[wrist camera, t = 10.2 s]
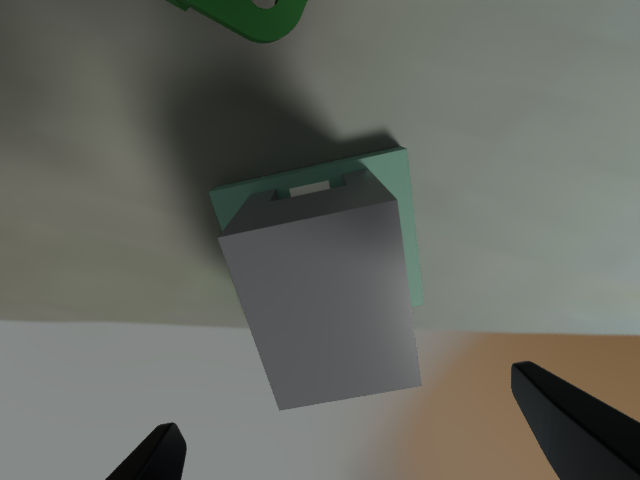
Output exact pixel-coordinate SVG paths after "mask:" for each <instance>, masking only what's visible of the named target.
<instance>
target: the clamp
mask: <svg viewBox="0 0 640 480" xmlns="http://www.w3.org/2000/svg"><path fill="white" fill-rule="evenodd" d="M166 1H168V2H170V3H171V4H173V5H175V6H177V7H179V8H180V9H182V10H184V11H186V10H187V9H188V7H191V8H193V9H194V10H196V11H198V12H200V13H201V14H203V15H205V16H207V17H209V18H210V19H212V20H214V21H216V22H217V23H219V24H221V25H223V26H224V27H226V28H228V29H230V30H232V31H233V32H235V33H237V34H239V35H240V36H242V37H244V38H246V39H248V40H250V41H252V42H256V43H270V42H274V41H276V40H278V39H280V38H282V37H283V36H285V35H286V34H288V33H289V32H290V31H291V30H292V29H293V28H294V27H295V26H296V24H297V23H298V21H299V19H300V17H301V15H302V13H303V10H304V8H305V5H306V2H307V0H276V2H275V5H274V6H273V7H271V8H269V9H262V8H259V7H257V6H256V5H255V4H253V3H252V1H251V0H166Z"/></svg>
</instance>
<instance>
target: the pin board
mask: <svg viewBox="0 0 640 480" xmlns="http://www.w3.org/2000/svg"><path fill="white" fill-rule="evenodd" d="M364 169H369V170H370V171H371V172H372V173H373V174H374V175H375V176H376V177H377V179H378V180H379V181H380V182H381V183H382V184H383V185H384V186H385V187H386V188H387V189H388V190H389V191H390V192H391V193H392V194H393V196H394V197H395V198H396V199H397V200H398V208H399V216H400V224H401V231H402V239H403V247H404V254H405V262H406V270H407V278H408V285H409V293H410V301H411V307H414V306H420V305H424V300H423V291H422V282H421V273H420V263H419V254H418V245H417V236H416V227H415V218H414V209H413V199H412V190H411V181H410V172H409V163H408V154H407V149H406V148H404V147H401V146H399V147H395V148H390V149H386V150H381V151H377V152H372V153H368V154H363V155H358V156H354V157H349V158H345V159H340V160H336V161H331V162H327V163H322V164H317V165H313V166H308V167H304V168H299V169H295V170H290V171H286V172H281V173H276V174H272V175H267V176H263V177H258V178H254V179H249V180H244V181H240V182H235V183H231V184H226V185H222V186H217V187H214V188H213V189H212V190H210V191H209V192H208V193H209V196H210V199H211V201H212V204H213V207H214V210H215V213H216V216H217V219H218V221H219V224H220V227H221V230H222V231H223V230H224V228H225V227H226V226H227V225H228V223H229V222H230V221H231V219H232V218H233V217H234V215H235V214H236V213H237V211H238V210H239V209H240V207H241V206H242V205H243V204H244V202H245V201H246V200H247V198H248V197H249V196H250V194H254V193H259V192H264V191H268V190H273V189H276V192H277V196H278V200H280V199H285V198H290V197H294V196H299V195H303V194H308V193H313V192H317V191H322V190H327V189H331V188H336V187H340V186H344V181H343V176H342V174H346V173H351V172H355V171H360V170H364Z"/></svg>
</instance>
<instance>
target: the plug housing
mask: <svg viewBox="0 0 640 480" xmlns="http://www.w3.org/2000/svg"><path fill="white" fill-rule="evenodd" d="M342 176H343V181H344V186H340V187H336V188H331V189H327V190H322V191H317V192H313V193H308V194H303V195H299V196H294V197H290V198H285V199H280V200H278V196H277V192H276V189H273V190H268V191H264V192H259V193H254V194H250V196H249V197H248V198H247V200H246V201H245V202H244V204H243V205H242V206H241V207H240V209H239V210H238V211H237V213H236V214H235V215H234V217H233V218H232V219H231V221H230V222H229V223H228V225H227V226H226V227H225V228H224V230H223V231H222V232H221V234H220V235H219V236H218V241H219V244H220V246H221V249H222V252H223V255H224V258H225V260H226V263H227V266H228V269H229V272H230V274H231V277H232V280H233V283H234V285H235V288H236V291H237V294H238V297H239V299H240V302H241V305H242V308H243V310H244V313H245V316H246V319H247V322H248V324H249V327H250V330H251V333H252V336H253V338H254V341H255V344H256V347H257V349H258V352H259V355H260V358H261V361H262V363H263V366H264V369H265V372H266V374H267V377H268V380H269V383H270V386H271V388H272V391H273V394H274V397H275V399H276V402H277V405H278V408H279V410H285V409H291V408H296V407H302V406H308V405H314V404H319V403H325V402H331V401H337V400H343V399H348V398H354V397H360V396H366V395H371V394H377V393H383V392H388V391H394V390H400V389H406V388H412V387H417V386H421V378H420V370H419V364H418V355H417V347H416V339H415V332H414V324H413V316H412V308H411V301H410V293H409V285H408V278H407V270H406V262H405V254H404V247H403V239H402V231H401V224H400V216H399V208H398V200H397V199H396V198H395V197H394V196H393V194H392V193H391V192H390V191H389V190H388V189H387V188H386V187H385V186H384V185H383V184H382V183H381V182H380V181H379V180H378V179H377V177H376V176H375V175H374V174H373V173H372V172H371V171H370V170H369V169H364V170H360V171H355V172H351V173H346V174H342Z"/></svg>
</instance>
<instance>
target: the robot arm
mask: <svg viewBox="0 0 640 480" xmlns="http://www.w3.org/2000/svg"><path fill="white" fill-rule="evenodd" d="M511 389H512V393H513V395H514V397H515V399H516V401H517V403H518V405H519V407H520V409H521V411H522V413H523V415H524V416H525V418H526V420H527V422H528V424H529V426H530V428H531V430H532V432H533V433H534V435H535V437H536V439H537V441H538V443H539V445H540V447H541V449H542V450H543V452H544V454H545V456H546V458H547V460H548V461H549V463H550V464H551V466H552V468H553V469H554V471H555V473H556V474H557V475H558V477H559V478H560V480H640V422H638V421H636V420H634V419H633V418H630V417H629V416H627V415H625V414H624V413H622V412H620V411H618V410H617V409H615V408H613V407H611V406H609V405H608V404H606V403H604V402H602V401H600V400H599V399H597V398H595V397H593V396H592V395H590V394H588V393H586V392H585V391H583V390H581V389H579V388H577V387H576V386H574V385H572V384H570V383H569V382H567V381H565V380H563V379H561V378H560V377H558V376H556V375H554V374H552V373H551V372H549V371H547V370H545V369H543V368H542V367H540V366H538V365H537V364H535V363H533V362H530V361H523V362H517V363H513V364H512V368H511ZM186 450H187V448H186V442H185V440H184V438H183V436H182V434H181V432H180V430H179V428H178V426H177V425H176V424H175V423H167V424H161V425H159V426H157V427H156V428H155V429H154V430H153V431H152V432H151V433H150V434H149V435H148V436H147V437H146V438H145V439H144V440H143V441H142V442H141V443H140V444H139V445H138V446H137V448H136V449H135V450H134V451H133V452H132V453H131V454H130V455H129V456H128V457H127V458H126V459H125V460H124V461H123V462H122V463H121V464H120V465H119V466H118V467H117V468H116V469H115V470H114V471H113V472H112V473H111V474H110V475H109V476H108V477H107V478H106V480H181V477H182V472H183V467H184V462H185V456H186Z"/></svg>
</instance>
